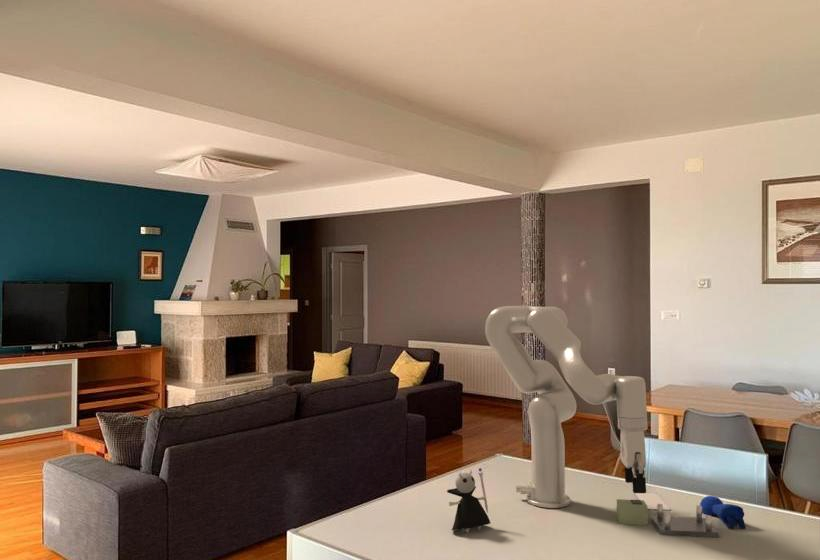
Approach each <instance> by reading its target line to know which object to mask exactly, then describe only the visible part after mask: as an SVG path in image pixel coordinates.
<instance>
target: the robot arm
mask: <svg viewBox="0 0 820 560" xmlns="http://www.w3.org/2000/svg"><path fill="white" fill-rule="evenodd" d="M568 321H569V320H568V316H567V314H566V313H565V311H564V310H563V309H561V308H559V307H557V306H537V305H507V306H506V305H505V306H499V307H497V308H495V309H493V310H492V311H491V312H490V313H489V314H488V317H487V318H486V320H485V326H484V330H485V333H484V334H485V338H486V340H487V342H488V344H489V346H490V348H491V349H492V351H493V352H494V353H495V355H496V356H497V359H499V361H500V363H501V364H502V366H503V368H504V370H505V371H506V373H507V374H508V376H509V377H510V379H511V381H512V382H513V384H514V386H515V387H516V388H517V390H519V392H520V393H523V394H526V395H528V394H535V393H537V395H536V396H534V397H533V398H532V399H531V400H530V402H529V405H528V410H527V412H528V413H527V414H528V421H529V426H530V439H531V440H530V441H531V442H530V444H531V445H530V446H531V448H530V449H531V482H530V483H529V484H526V486H524V485H516V486H515V493H520V495H526V501H527V502H528V503H529V504H530V505H533V506H536V507H540V508H545V509H547V508H548V509H559V508H566V507H567V506H569V505H570V504H571V503H572V502H571V497H570V496H569V495H567V494H566V479H565V478H566V476H565V475H566V474H565V473H566V471H565V470H566V467H565V466H566V464H565V463H566V461H565V457H566V456H565V449H566V448H565V437H564V435H565V434H564V432H563V427H562V423H563V422H567V421H568V420H570V419H572V418H573V417H574V416H575V414H576V411H577V400H576V398H575V396H574V394H573V392H572V391H571V389H570V388H569V387H568V385H567V383H568V384H569V386H570V387H571V388H572V389H573V391H574V392H575V393H576V394H577V396H579V397H580V398H581V399H582V400H583V401H585V402H586V403H587V404H590V405H593V406H598V405H602V404H605V403H609V402H612V401H616V413H617V428H618V430H620V439H619V441H620V444H619V445H620V461H621V463H622V464H623V465H624V479H625V483H629V484H630V483H631V484H632V492H633V494H634V493H647V482H646V481H647V480H646V478H647V477H646V473H645V472H646V471H645V468H646V467H647V455H646V452H647V451H646V442H645V441H646V440H645V439H646V438H645V432H644V431H647V430H648V409H647V391H646V390H647V389H646V381H645V379H644V377H641V376H637V375H636V376H635V375H624V376H623V375H617V374H612V373H611V374H610V373H603V374H598V375H597V374H595V373H594V372H593V371H592V370H591V369H590V367H588V365H587V364H586V363H585V362H584V360H583V359H582V358H583V357H582V355H581V347H582V346H581V345H582V343H581V340H580V339H579V338H578V337H577V335H575V334H574V333H573V332H572V331H571V329H570V328H569V327H568V324H569V322H568ZM519 333H532V334H533V335H534V336H536V338H537V339H538V340H539V341H540V342H541V343H542V345H543V346H544V347H545V348H546V349H547V350H548V351H549V352H550V354H552V355H553V357H554V358H555V360H557V362H558V365H559V369H560V371H561V373H562V376H561V374H560V373H559V372H558V369H556V367H555V366H554V365H553V364H552V363H550V362H549V361H547V360H546V359H545V360H544V359H535V360H534V359H533V357H532V356H531V354H530V353H529V352H528V350H527V348H526V347H525V346H524V345H523V343H522V342H521V341H519V340H518V338H516V336H515V335H514V334H519ZM563 377H564V379H565V381H566V382H567V383H566V382H565V381H564V379H563Z"/></svg>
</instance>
